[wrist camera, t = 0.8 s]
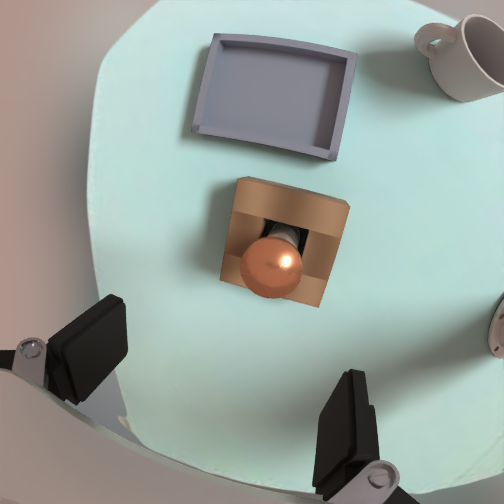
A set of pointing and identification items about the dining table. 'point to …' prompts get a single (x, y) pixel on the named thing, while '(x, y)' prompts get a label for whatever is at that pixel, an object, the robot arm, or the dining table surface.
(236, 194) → the hitch block
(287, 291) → the pin
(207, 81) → the tray
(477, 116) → the dining table surface
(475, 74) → the cup
